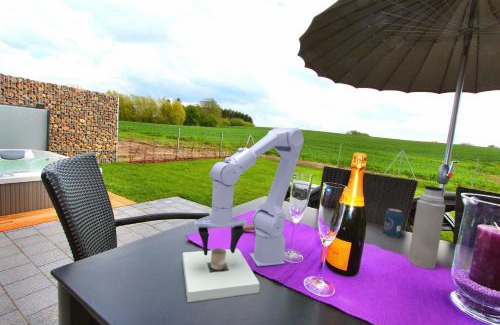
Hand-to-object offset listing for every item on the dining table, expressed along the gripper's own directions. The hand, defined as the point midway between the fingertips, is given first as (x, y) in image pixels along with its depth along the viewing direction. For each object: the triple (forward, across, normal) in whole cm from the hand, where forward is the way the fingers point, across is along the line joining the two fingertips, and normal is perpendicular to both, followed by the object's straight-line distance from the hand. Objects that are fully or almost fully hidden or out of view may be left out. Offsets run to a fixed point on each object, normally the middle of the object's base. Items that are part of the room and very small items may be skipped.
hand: (219, 252), depth 69 cm
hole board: (+7, 0, 0) cm, 7 cm away
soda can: (+7, -86, -18) cm, 88 cm away
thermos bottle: (+7, -73, +6) cm, 74 cm away
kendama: (+7, -21, -28) cm, 36 cm away
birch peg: (+7, 0, 0) cm, 7 cm away
